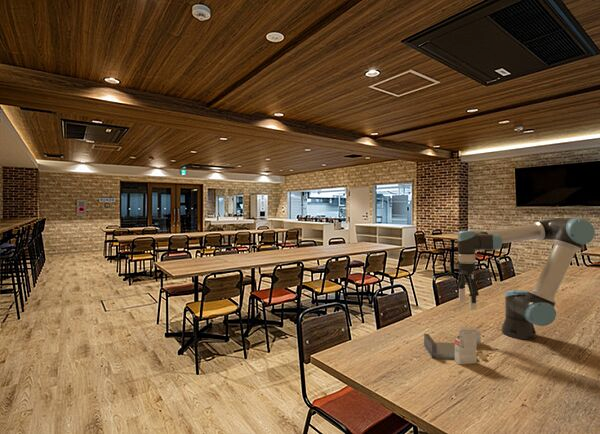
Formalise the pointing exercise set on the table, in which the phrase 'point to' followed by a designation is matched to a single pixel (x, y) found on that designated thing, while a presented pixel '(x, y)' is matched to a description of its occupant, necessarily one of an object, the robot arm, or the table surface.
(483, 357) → the brass key
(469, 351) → the ink box
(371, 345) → the table surface
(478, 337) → the block
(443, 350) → the grey bookend
